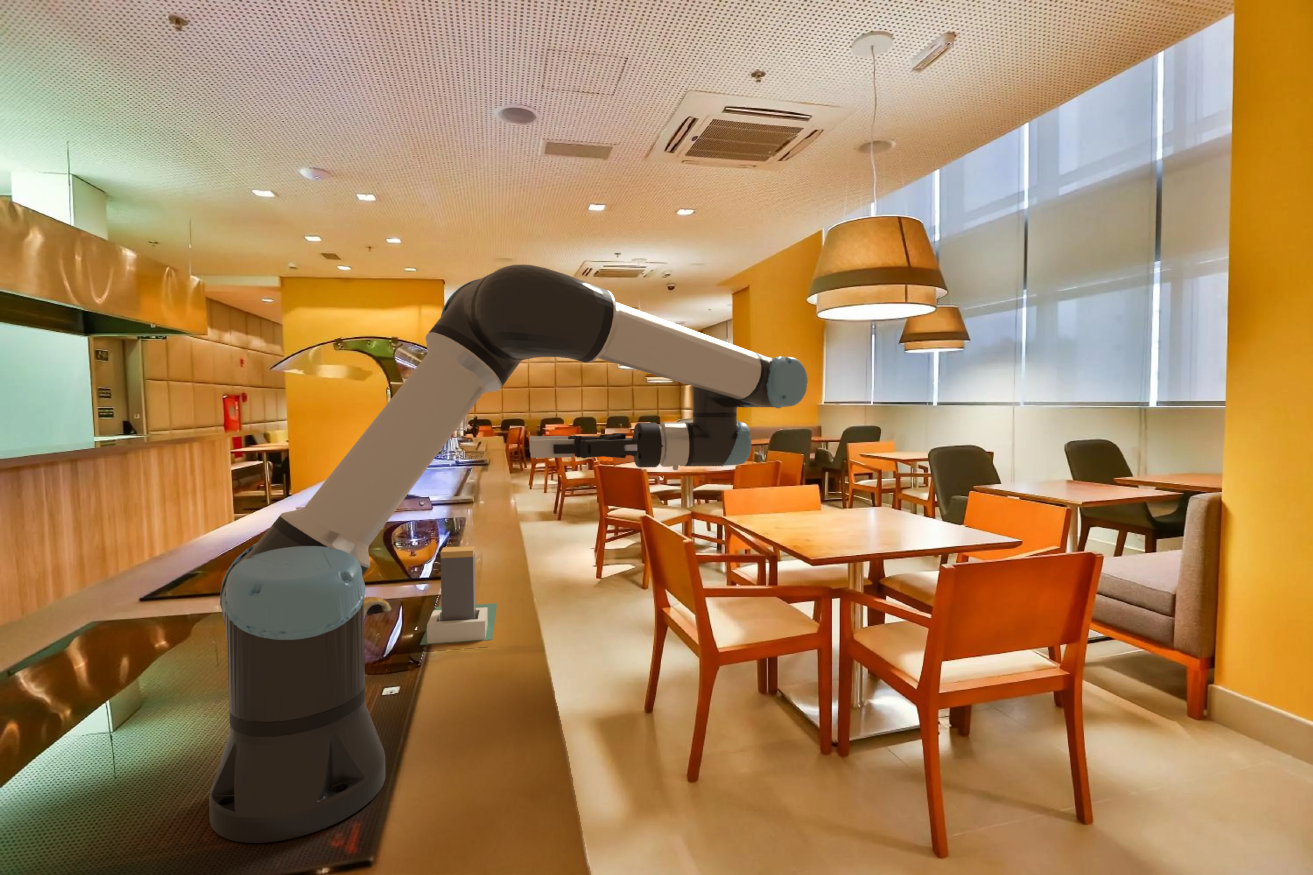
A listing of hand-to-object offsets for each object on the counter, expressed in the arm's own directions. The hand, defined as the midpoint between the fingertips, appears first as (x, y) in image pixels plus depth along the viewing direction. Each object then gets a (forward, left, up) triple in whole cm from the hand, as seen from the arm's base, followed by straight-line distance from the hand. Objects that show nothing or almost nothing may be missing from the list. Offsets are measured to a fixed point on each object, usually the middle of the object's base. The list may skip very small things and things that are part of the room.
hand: (529, 446), depth 104 cm
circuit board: (+9, +12, -32) cm, 35 cm away
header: (+3, +12, -31) cm, 33 cm away
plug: (+3, +12, -31) cm, 33 cm away
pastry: (+20, +29, -32) cm, 48 cm away
